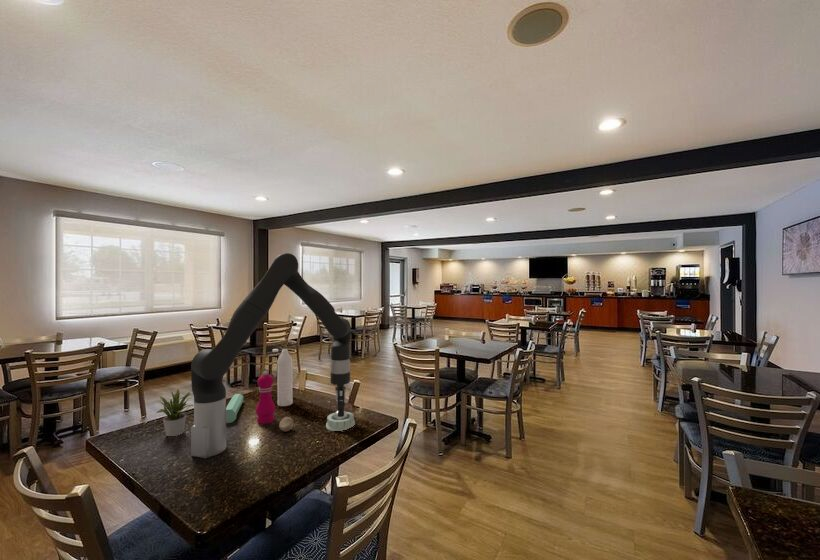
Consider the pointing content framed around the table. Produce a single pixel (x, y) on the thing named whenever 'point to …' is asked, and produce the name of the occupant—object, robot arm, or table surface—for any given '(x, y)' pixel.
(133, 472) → the table surface
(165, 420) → the house plant
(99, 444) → the table surface
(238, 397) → the mint green faceted rod
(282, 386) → the water bottle
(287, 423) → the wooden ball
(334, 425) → the ring cup
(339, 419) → the steel ball
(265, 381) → the pepper mill
